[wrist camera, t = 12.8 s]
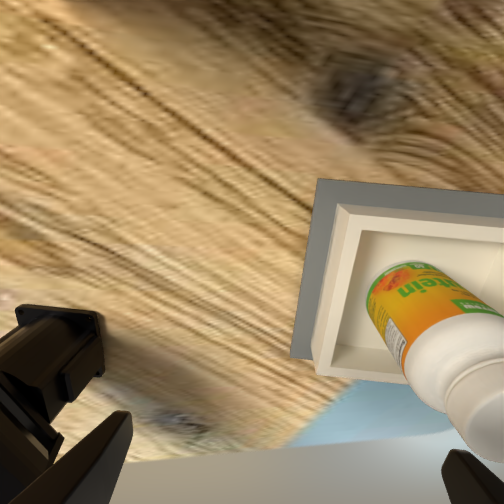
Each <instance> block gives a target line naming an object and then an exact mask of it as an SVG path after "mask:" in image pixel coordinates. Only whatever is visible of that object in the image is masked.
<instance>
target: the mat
mask: <svg viewBox="0 0 504 504" xmlns="http://www.w3.org/2000/svg"><path fill="white" fill-rule="evenodd" d="M337 203H338V204H350V205H361V206H372V207H383V208H394V209H405V210H416V211H427V212H439V213H450V214H461V215H472V216H483V217H494V218H504V194H493V193H482V192H470V191H459V190H447V189H436V188H424V187H413V186H402V185H390V184H379V183H367V182H356V181H345V180H333V179H322V178H318V180H317V186H316V192H315V199H314V205H313V211H312V217H311V224H310V230H309V236H308V243H307V249H306V255H305V261H304V268H303V274H302V280H301V286H300V293H299V299H298V305H297V311H296V318H295V324H294V330H293V337H292V343H291V349H290V358H298V359H307V360H313V356H312V351H311V346H310V345H311V339H312V334H313V329H314V324H315V318H316V313H317V308H318V303H319V297H320V292H321V287H322V282H323V276H324V271H325V266H326V261H327V255H328V250H329V245H330V240H331V234H332V229H333V224H334V219H335V213H336V208H337Z"/></svg>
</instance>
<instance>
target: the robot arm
mask: <svg viewBox="0 0 504 504" xmlns="http://www.w3.org/2000/svg"><path fill="white" fill-rule="evenodd" d="M15 314H16V317H17V321H18V325H19V326H17V327H16V328H14V329H13V330H12V331H10V332H9V333H7V334H6V335H5V336H3V337H2V338H0V504H109V502H110V499H111V496H112V494H113V491H114V488H115V485H116V482H117V480H118V477H119V474H120V471H121V469H122V466H123V463H124V460H125V457H126V455H127V452H128V449H129V446H130V443H131V440H132V437H133V425H132V415H131V413H130V412H129V411H121V410H117V411H115V412H113V413H112V414H111V415H110V416H109V417H108V418H106V419H105V420H104V421H103V422H102V423H101V424H99V425H98V426H97V427H96V428H95V429H94V430H93V431H91V432H90V433H89V434H88V435H87V436H86V437H84V438H83V439H82V440H81V441H80V442H79V443H78V444H76V445H75V446H74V447H73V448H72V449H71V450H69V451H68V452H67V453H66V454H65V455H64V456H63V457H61V458H60V459H59V460H58V461H57V462H56V463H55V464H53V463H54V461H55V459H56V457H57V454H58V452H59V450H60V448H61V445H62V443H63V441H64V437H63V436H62V435H61V433H60V432H58V433H57V432H56V430H55V429H54V428H53V427H52V426H51V425H50V424H51V423H52V421H53V420H54V419H55V417H56V416H57V415H58V414H59V412H60V411H61V410H62V409H63V407H64V406H65V405H66V404H67V402H68V403H72V402H73V401H74V400H76V398H77V397H78V396H79V394H80V393H81V392H82V391H83V389H84V388H85V387H86V385H87V384H88V383H89V381H90V380H91V379H92V378H93V377H101V376H102V375H103V374H104V372H105V366H104V354H103V347H102V340H101V337H100V331H99V324H98V317H97V315H96V314H95V313H94V312H92V311H84V310H74V309H65V308H55V307H45V306H36V305H26V304H22V305H20V306H18V307H17V308H16V309H15ZM89 317H90V318H91V319H90V318H89ZM441 473H442V478H443V481H444V484H445V487H446V490H447V493H448V496H449V499H450V502H451V504H504V482H502V481H501V480H500V479H499V478H498V477H497V476H496V475H495V474H494V473H492V472H491V471H490V470H489V469H488V468H487V467H486V466H485V465H484V464H483V463H481V462H480V461H479V460H478V459H477V458H476V457H475V456H474V455H473V454H471V453H470V452H468V451H466V450H459V449H452V450H450V451H449V453H448V455H447V457H446V459H445V461H444V463H443V465H442V469H441Z"/></svg>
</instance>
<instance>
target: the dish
mask: <svg viewBox="0 0 504 504" xmlns="http://www.w3.org/2000/svg"><path fill="white" fill-rule="evenodd" d="M406 260H417V261H423V262H426V263H429V264H431V265H433V266H435V267H436V268H438V269H439V270H441V271H442V272H443V273H445V274H446V275H447V276H449V277H450V278H451V279H453V280H454V281H456V282H457V283H458V284H460V285H461V286H462V287H464V288H465V289H467V290H468V291H469V292H471V293H472V294H474V295H475V296H476V297H478V298H479V299H480V300H482V301H483V302H484V303H486V304H487V305H489V306H490V307H491V308H493V309H494V310H495V311H497V312H498V313H500V314H501V315H503V316H504V218H494V217H483V216H472V215H461V214H450V213H439V212H427V211H416V210H405V209H394V208H383V207H372V206H361V205H350V204H338V203H337V208H336V213H335V219H334V224H333V229H332V234H331V240H330V245H329V250H328V255H327V261H326V266H325V271H324V276H323V282H322V287H321V292H320V297H319V303H318V308H317V313H316V318H315V324H314V329H313V334H312V339H311V345H310V346H311V351H312V356H313V361H314V366H315V371H316V375H323V376H332V377H341V378H351V379H360V380H369V381H379V382H388V383H397V384H407V385H409V383H408V381H407V380H406V378H405V376H404V375H403V373H402V371H401V369H400V368H399V366H398V364H397V363H396V361H395V359H394V358H393V356H392V354H391V353H390V351H389V349H388V348H387V346H386V344H385V342H384V341H383V339H382V337H381V336H380V334H379V332H378V331H377V329H376V327H375V326H374V324H373V322H372V320H371V319H370V317H369V315H368V313H367V310H366V307H365V293H366V289H367V287H368V285H369V283H370V281H371V280H372V279H373V277H374V276H375V275H376V274H377V273H378V272H380V271H381V270H382V269H384V268H385V267H387V266H389V265H391V264H394V263H397V262H400V261H406Z"/></svg>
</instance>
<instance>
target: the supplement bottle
mask: <svg viewBox="0 0 504 504" xmlns="http://www.w3.org/2000/svg"><path fill="white" fill-rule="evenodd" d="M365 307H366V310H367V313H368V315H369V317H370V319H371V320H372V322H373V324H374V326H375V327H376V329H377V331H378V332H379V334H380V336H381V337H382V339H383V341H384V342H385V344H386V346H387V348H388V349H389V351H390V353H391V354H392V356H393V358H394V359H395V361H396V363H397V364H398V366H399V368H400V369H401V371H402V373H403V375H404V376H405V378H406V380H407V381H408V383H409V385H410V386H411V388H412V389H413V391H414V392H415V393H416V395H417V396H418V397H419V398H420V399H421V400H422V401H423V402H424V403H425V404H427V405H428V406H430V407H431V408H433V409H435V410H437V411H439V412H441V413H444V414H447V415H448V418H449V420H450V422H451V423H452V425H453V426H454V427H455V428H456V430H457V431H458V433H459V434H460V435H461V437H462V438H463V440H464V441H465V443H466V444H467V446H468V447H469V448H470V449H471V450H472V451H473V452H474V453H476V454H477V455H479V456H480V457H483V458H484V459H487V460H490V461H494V462H498V463H504V316H503V315H501V314H500V313H498V312H497V311H495V310H494V309H493V308H491V307H490V306H489V305H487V304H486V303H484V302H483V301H482V300H480V299H479V298H478V297H476V296H475V295H474V294H472V293H471V292H469V291H468V290H467V289H465V288H464V287H462V286H461V285H460V284H458V283H457V282H456V281H454V280H453V279H451V278H450V277H449V276H447V275H446V274H445V273H443V272H442V271H441V270H439V269H438V268H436V267H435V266H433V265H431V264H429V263H426V262H423V261H417V260H406V261H400V262H397V263H394V264H391V265H389V266H387V267H385V268H384V269H382V270H381V271H380V272H378V273H377V274H376V275H375V276H374V277H373V279H372V280H371V281H370V283H369V285H368V287H367V289H366V293H365Z"/></svg>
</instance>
